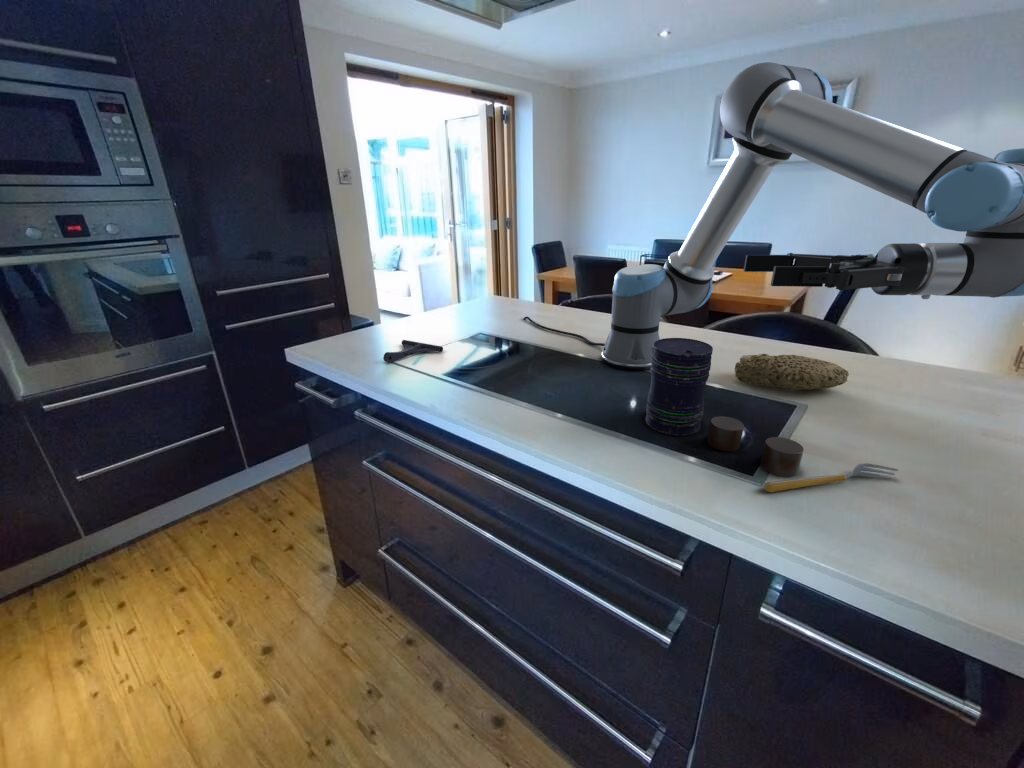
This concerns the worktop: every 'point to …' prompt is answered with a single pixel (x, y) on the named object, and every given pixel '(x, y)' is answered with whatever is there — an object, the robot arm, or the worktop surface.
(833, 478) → the fork
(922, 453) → the worktop surface
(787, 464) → the walnut disc
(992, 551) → the worktop surface
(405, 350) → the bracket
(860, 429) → the worktop surface
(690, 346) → the storage jar
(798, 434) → the worktop surface
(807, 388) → the sponge
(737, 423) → the walnut disc
